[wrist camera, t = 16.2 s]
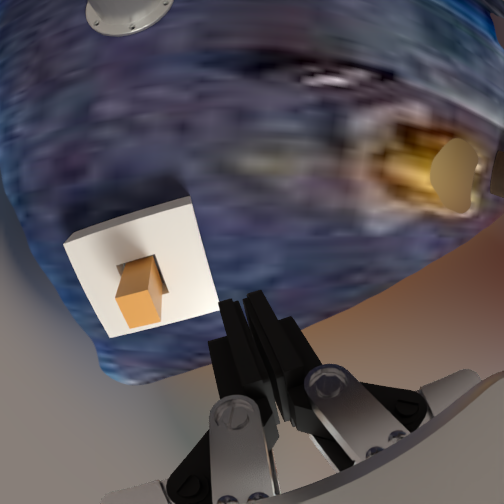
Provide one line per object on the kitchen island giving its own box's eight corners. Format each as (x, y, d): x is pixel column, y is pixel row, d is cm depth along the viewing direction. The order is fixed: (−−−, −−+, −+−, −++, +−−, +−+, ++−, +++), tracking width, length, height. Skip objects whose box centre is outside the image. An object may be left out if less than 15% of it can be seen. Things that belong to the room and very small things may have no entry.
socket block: (73, 232, 34) (63, 244, 30) (190, 195, 36) (191, 203, 32) (114, 320, 41) (110, 337, 37) (216, 293, 44) (221, 309, 40)
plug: (127, 259, 36) (114, 298, 27) (153, 252, 37) (147, 289, 28) (137, 285, 38) (129, 328, 29) (162, 279, 38) (161, 321, 30)
